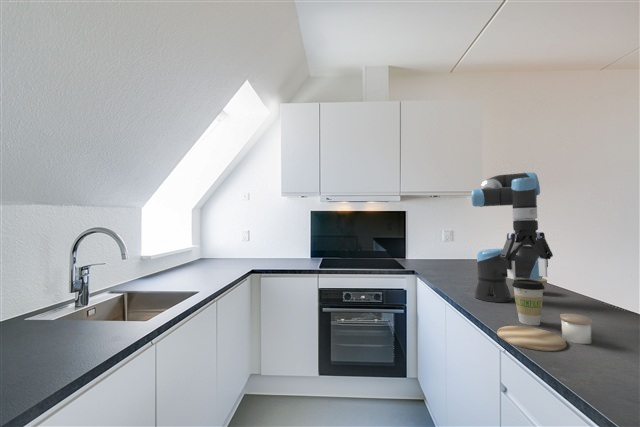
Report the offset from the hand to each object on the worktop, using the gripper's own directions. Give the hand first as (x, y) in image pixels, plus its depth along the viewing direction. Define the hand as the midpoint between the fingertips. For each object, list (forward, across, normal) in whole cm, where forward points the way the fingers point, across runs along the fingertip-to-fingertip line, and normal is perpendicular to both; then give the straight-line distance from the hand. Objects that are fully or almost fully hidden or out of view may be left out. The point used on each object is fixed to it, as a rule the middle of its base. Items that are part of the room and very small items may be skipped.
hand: (527, 277), depth 109 cm
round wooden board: (+17, -12, -12) cm, 23 cm away
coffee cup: (+17, 0, 0) cm, 17 cm away
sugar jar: (+17, +1, -16) cm, 23 cm away
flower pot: (+16, +37, +33) cm, 53 cm away
